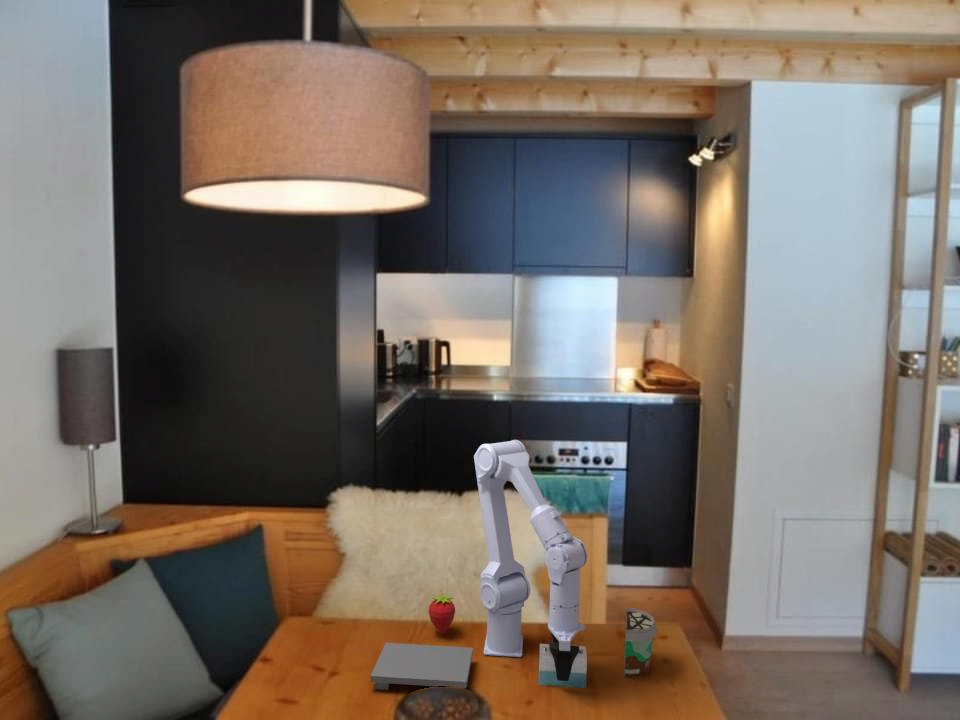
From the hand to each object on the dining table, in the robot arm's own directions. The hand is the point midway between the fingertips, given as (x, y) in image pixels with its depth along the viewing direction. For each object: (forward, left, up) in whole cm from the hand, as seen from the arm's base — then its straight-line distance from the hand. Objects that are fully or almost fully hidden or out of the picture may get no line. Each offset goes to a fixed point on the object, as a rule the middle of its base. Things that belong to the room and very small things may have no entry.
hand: (562, 670), depth 145 cm
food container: (-7, +16, -2) cm, 18 cm away
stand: (+2, -27, -2) cm, 27 cm away
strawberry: (-17, -26, -2) cm, 31 cm away
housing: (0, 0, -2) cm, 2 cm away
